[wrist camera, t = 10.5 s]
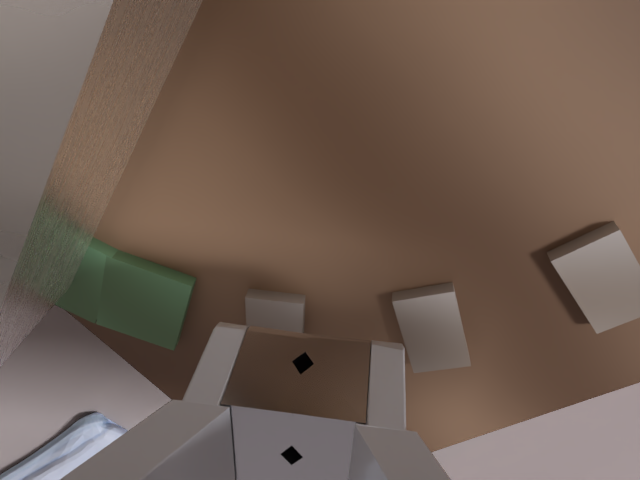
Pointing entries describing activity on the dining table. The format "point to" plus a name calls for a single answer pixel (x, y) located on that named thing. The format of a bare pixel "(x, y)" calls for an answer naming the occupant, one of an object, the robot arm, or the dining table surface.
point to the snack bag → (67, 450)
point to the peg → (70, 133)
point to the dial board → (390, 199)
